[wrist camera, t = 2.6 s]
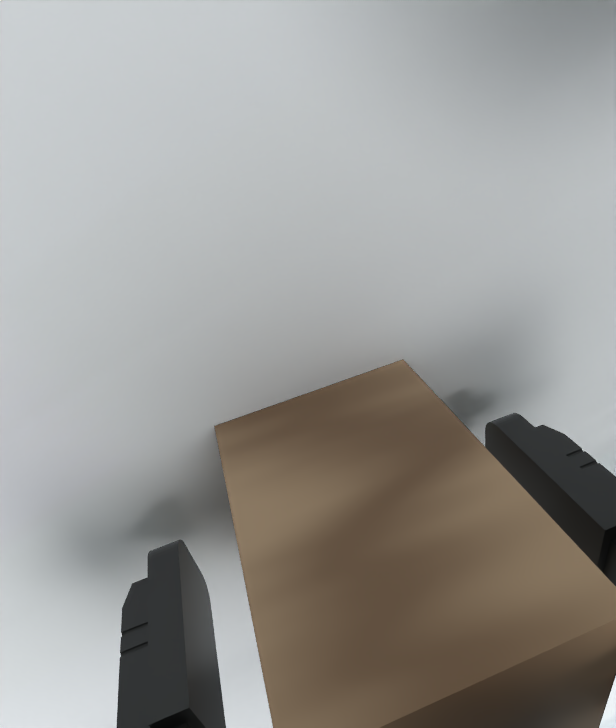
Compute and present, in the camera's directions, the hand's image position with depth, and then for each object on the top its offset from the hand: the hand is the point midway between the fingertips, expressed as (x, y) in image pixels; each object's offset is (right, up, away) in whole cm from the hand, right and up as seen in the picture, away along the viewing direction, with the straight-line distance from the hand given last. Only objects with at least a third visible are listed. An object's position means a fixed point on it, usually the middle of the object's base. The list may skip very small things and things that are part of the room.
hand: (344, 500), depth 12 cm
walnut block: (0, +1, +1) cm, 2 cm away
